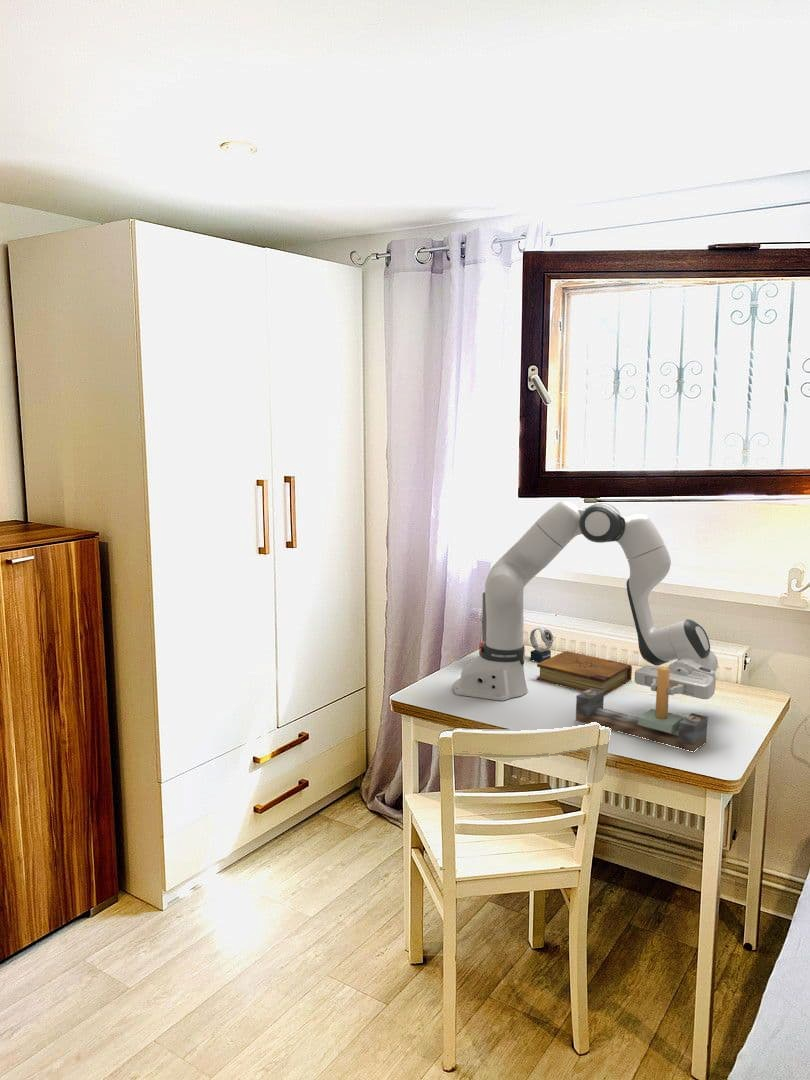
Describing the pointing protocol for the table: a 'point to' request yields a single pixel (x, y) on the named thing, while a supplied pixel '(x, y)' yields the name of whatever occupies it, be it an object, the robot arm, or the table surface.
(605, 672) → the diary
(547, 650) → the watch
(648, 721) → the slider with orange handle
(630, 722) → the rail
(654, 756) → the table surface
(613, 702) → the table surface
